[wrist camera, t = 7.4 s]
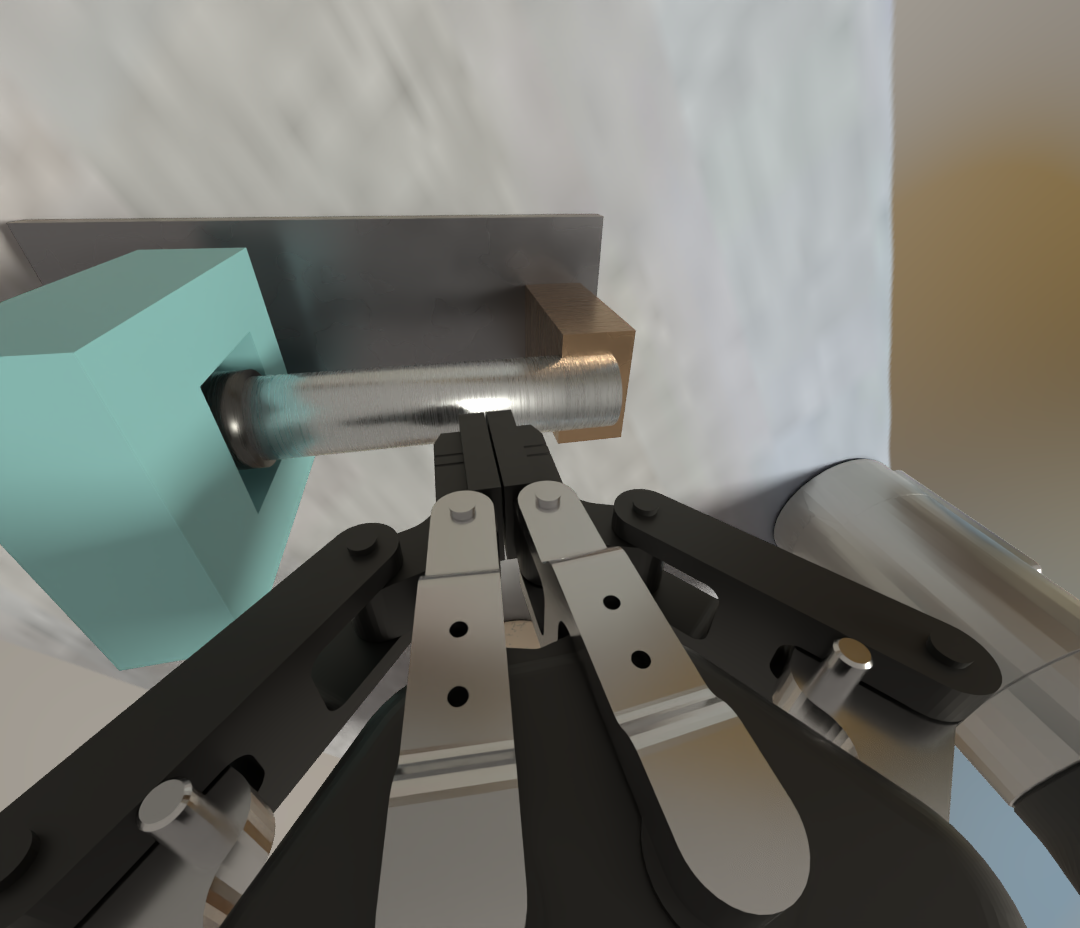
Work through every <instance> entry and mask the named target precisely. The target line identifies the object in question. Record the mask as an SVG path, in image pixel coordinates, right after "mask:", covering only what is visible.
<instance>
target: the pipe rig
mask: <svg viewBox="0 0 1080 928" xmlns="http://www.w3.org/2000/svg"><path fill="white" fill-rule="evenodd" d="M7 225H8V227H9V228H10V230H11V232H12V233H13V235H14V237H15V238H16V240H17V242H18V243H19V245H20V247H21V249H22V250H23V252H24V254H25V255H26V257H27V259H28V260H29V262H30V264H31V265H32V267H33V269H34V271H35V272H36V274H37V276H38V277H39V279H40V281H41V282H42V284H43V286H44V285H47V284H50V283H52V282H55V281H57V280H60V279H63V278H65V277H68V276H71V275H73V274H76V273H78V272H81V271H84V270H86V269H89V268H91V267H94V266H97V265H99V264H102V263H105V262H107V261H110V260H112V259H115V258H118V257H120V256H123V255H126V254H128V253H131V252H133V251H136V250H152V249H200V248H246V249H247V252H248V255H249V258H250V261H251V264H252V267H253V270H254V273H255V276H256V279H257V282H258V285H259V288H260V291H261V294H262V297H263V300H264V303H265V306H266V310H267V313H268V316H269V319H270V322H271V325H272V328H273V331H274V334H275V337H276V340H277V343H278V346H279V349H280V352H281V355H282V358H283V361H284V364H285V367H286V370H287V373H288V374H279V375H265V376H262V375H261V374H260V373H258V372H257V371H255V370H252V369H249V370H234V371H219V372H213V373H212V374H211V375H210V376H209V377H208V378H207V379H206V381H205V382H204V383H203V384H202V385H201V386H200V388H201V391H202V393H203V395H204V397H205V399H206V402H207V404H208V406H209V408H210V410H211V413H212V415H213V417H214V419H215V421H216V423H217V426H218V428H219V430H220V432H221V434H222V437H223V439H224V441H225V443H226V445H227V448H228V450H229V452H230V454H231V456H232V458H233V461H234V463H235V465H236V467H237V469H238V470H247V469H257V468H266V467H271V466H272V465H273V464H274V463H275V462H276V460H279V459H289V458H299V457H308V456H318V455H328V454H338V453H348V452H358V451H367V450H377V449H387V448H397V447H407V446H417V445H426V444H434V443H435V442H436V440H437V439H438V437H439V436H440V434H441V433H451V432H460V429H459V420H458V414H467V413H478V412H484V415H485V412H488V411H499V410H509V409H511V411H512V414H513V417H514V420H515V422H516V425H517V426H521V425H532V426H533V427H535V428H536V429H537V430H539V431H540V432H541V433H544V432H553V434H554V436H555V438H556V440H557V442H558V444H559V443H569V442H578V441H587V440H597V439H606V438H615V437H621V432H622V425H623V418H624V411H625V403H626V396H627V389H628V382H629V375H630V367H631V360H632V353H633V346H634V339H635V332H636V330H635V329H634V328H632V327H631V326H630V325H629V324H628V323H627V322H625V321H624V320H623V319H622V318H621V317H620V316H618V315H617V314H616V313H615V312H614V311H613V310H611V309H610V308H609V307H608V306H607V305H606V304H604V303H603V302H602V301H601V300H600V299H599V298H597V286H598V274H599V263H600V251H601V239H602V228H603V216H601V215H599V214H541V215H440V216H340V217H239V218H139V219H38V220H19V221H14V222H9V223H7Z"/></svg>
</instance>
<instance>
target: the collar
mask: <svg viewBox="0 0 1080 928" xmlns="http://www.w3.org/2000/svg"><path fill="white" fill-rule="evenodd" d="M249 369H252V370H255V371H257V372H258V373H260V374H261V375H262V376H265V375H279V374H288V373H287V370H286V367H285V364H284V361H283V358H282V355H281V352H280V349H279V346H278V343H277V340H276V337H275V334H274V331H273V328H272V325H271V322H270V319H269V316H268V313H267V310H266V306H265V303H264V300H263V297H262V294H261V291H260V288H259V285H258V282H257V279H256V276H255V273H254V270H253V267H252V264H251V261H250V258H249V255H248V252H247V249H246V248H200V249H152V250H136V251H133V252H131V253H128V254H126V255H123V256H120V257H118V258H115V259H112V260H110V261H107V262H105V263H102V264H99V265H97V266H94V267H91V268H89V269H86V270H84V271H81V272H78V273H76V274H73V275H71V276H68V277H65V278H63V279H60V280H57V281H55V282H52V283H50V284H47V285H44V286H42V287H39V288H36V289H34V290H31V291H29V292H26V293H23V294H21V295H18V296H15V297H13V298H10V299H8V300H5V301H2V302H0V544H1V545H2V546H3V548H4V549H5V550H6V551H7V552H8V553H9V554H10V555H11V556H12V557H13V558H14V559H15V560H16V561H17V562H18V563H19V565H20V566H21V567H22V568H23V569H24V570H25V571H26V572H27V573H28V574H29V575H30V576H31V577H32V578H33V579H34V580H35V582H36V583H37V584H38V585H39V586H40V587H41V588H42V589H43V590H44V591H45V592H46V593H47V594H48V595H49V596H50V597H51V599H52V600H53V601H54V602H55V603H56V604H57V605H58V606H59V607H60V608H61V609H62V610H63V611H64V612H65V613H66V614H67V616H68V617H69V618H70V619H71V620H72V621H73V622H74V623H75V624H76V625H77V626H78V627H79V628H80V629H81V630H82V631H83V633H84V634H85V635H86V636H87V637H88V638H89V639H90V640H91V641H92V642H93V643H94V644H95V645H96V646H97V647H98V648H99V650H100V651H101V652H102V653H103V654H104V655H105V656H106V657H107V658H108V659H109V660H110V661H111V662H112V663H113V664H114V665H115V667H116V668H117V669H118V670H119V671H121V670H127V669H133V668H138V667H144V666H150V665H156V664H162V663H168V662H173V661H179V660H185V659H188V658H189V657H190V656H191V655H193V654H194V653H195V652H196V651H198V650H199V649H200V648H201V647H202V646H204V645H205V644H206V643H207V642H209V641H210V640H211V639H212V638H213V637H215V636H216V635H217V634H218V633H219V632H221V631H222V630H223V629H224V628H226V627H227V626H228V625H229V624H230V623H232V622H233V621H234V620H235V619H237V618H238V617H239V616H240V615H241V614H243V613H244V612H245V611H246V610H248V609H249V608H250V607H251V606H252V605H254V604H255V603H256V602H257V601H258V600H260V599H261V598H262V597H263V596H265V595H266V594H267V593H268V592H269V591H271V589H272V586H273V583H274V580H275V577H276V574H277V571H278V568H279V565H280V561H281V558H282V555H283V552H284V549H285V546H286V543H287V540H288V537H289V534H290V531H291V528H292V525H293V522H294V519H295V516H296V513H297V510H298V506H299V503H300V500H301V497H302V494H303V491H304V488H305V485H306V482H307V479H308V476H309V473H310V470H311V467H312V464H313V461H314V458H315V456H308V457H299V458H289V459H279V460H276V462H275V463H274V464H273V465H272V466H271V467H266V468H257V469H247V470H238V469H237V467H236V465H235V463H234V461H233V458H232V456H231V454H230V452H229V450H228V448H227V445H226V443H225V441H224V439H223V437H222V434H221V432H220V430H219V428H218V426H217V423H216V421H215V419H214V417H213V415H212V413H211V410H210V408H209V406H208V404H207V402H206V399H205V397H204V395H203V393H202V391H201V388H200V386H201V385H202V384H203V383H204V382H205V381H206V379H207V378H208V377H209V376H210V375H211V374H212V373H213V372H219V371H234V370H249Z"/></svg>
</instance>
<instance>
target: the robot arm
mask: <svg viewBox="0 0 1080 928" xmlns="http://www.w3.org/2000/svg"><path fill="white" fill-rule="evenodd" d="M458 420H459V429H460V432H451V433H441V434H440V436H439V437H438V439H437V440H436V442H435V443H434V464H435V488H436V503H435V504H434V506H433V508H432V510H431V515H430V517H428V518H427V519H426V520H425V521H424V522H422V523H421V524H419V525H417V526H415V527H413V528H411V529H408V530H405V531H403V532H400V533H396V531H395V530H394V529H393V528H391V527H389V526H387V525H384V524H380V523H365V524H360V525H357V526H354V527H351V528H349V529H347V530H345V531H343V532H342V533H340V534H339V535H338V536H336V537H335V538H334V539H333V540H332V541H330V542H329V543H328V544H327V545H326V546H324V547H323V548H322V549H321V550H319V551H318V552H317V553H316V554H315V555H313V556H312V557H311V558H310V559H308V560H307V561H306V562H305V563H304V564H302V565H301V566H300V567H299V568H297V569H296V570H295V571H294V572H293V573H291V574H290V575H289V576H288V577H287V578H285V579H284V580H283V581H282V582H280V583H279V584H278V585H277V586H276V587H274V588H273V589H272V590H271V591H269V592H268V593H267V594H266V595H265V596H263V597H262V598H261V599H260V600H258V601H257V602H256V603H255V604H254V605H252V606H251V607H250V608H249V609H248V610H246V611H245V612H244V613H243V614H241V615H240V616H239V617H238V618H237V619H235V620H234V621H233V622H232V623H230V624H229V625H228V626H227V627H226V628H224V629H223V630H222V631H221V632H219V633H218V634H217V635H216V636H215V637H213V638H212V639H211V640H210V641H209V642H207V643H206V644H205V645H204V646H202V647H201V648H200V649H199V650H198V651H196V652H195V653H194V654H193V655H191V656H190V657H189V658H188V659H187V660H185V661H184V662H183V663H182V664H181V665H179V666H178V667H177V668H176V669H174V670H173V671H172V672H171V673H170V674H168V675H167V676H166V677H165V678H163V679H162V680H161V681H160V682H159V683H157V684H156V685H155V686H154V687H152V688H151V689H150V690H149V691H148V692H146V693H145V694H144V695H143V696H142V697H140V698H139V699H138V700H137V701H136V702H135V703H133V704H132V705H131V706H129V707H128V708H127V709H126V710H125V711H123V712H122V713H121V714H120V715H118V716H117V717H116V718H115V719H114V720H112V721H111V722H110V723H109V724H107V725H106V726H105V727H104V728H103V729H101V730H100V731H99V732H98V733H97V734H95V735H94V736H93V737H92V738H90V739H89V740H88V741H87V742H85V743H84V744H83V745H82V746H81V747H79V748H78V749H77V750H76V751H75V752H74V753H72V754H71V755H70V756H68V757H67V758H66V759H65V760H64V761H62V762H61V763H60V764H59V765H57V766H56V767H55V768H54V769H53V770H51V771H50V772H49V773H48V774H46V775H45V776H44V777H43V778H42V779H40V780H39V781H38V782H37V783H36V784H34V785H33V786H32V787H31V788H29V789H28V790H27V791H26V792H25V793H23V794H22V795H21V796H20V797H18V798H17V799H16V800H15V801H14V802H12V803H11V804H10V805H9V806H8V807H6V808H5V809H4V810H3V811H1V812H0V928H1027V927H1026V925H1025V923H1024V921H1023V919H1022V917H1021V915H1020V913H1019V911H1018V910H1017V908H1016V906H1015V904H1014V902H1013V900H1012V899H1011V897H1010V896H1009V894H1008V893H1007V891H1006V890H1005V888H1004V886H1003V885H1002V883H1001V882H1000V880H999V879H998V878H997V876H996V875H995V873H994V872H993V871H992V870H991V868H990V867H989V865H988V864H987V863H986V861H985V860H984V859H983V858H982V857H981V856H980V854H979V853H978V852H977V851H976V850H975V849H974V848H973V846H972V845H971V844H970V843H969V842H968V841H967V840H966V839H965V838H964V837H963V836H962V835H961V834H960V833H959V832H958V831H957V830H956V829H955V828H954V827H953V826H952V825H951V824H949V814H950V801H951V800H950V799H951V786H952V772H953V759H954V746H956V747H957V748H958V749H959V750H960V751H961V752H962V753H963V755H964V756H965V757H966V758H967V759H968V760H969V761H970V762H971V764H972V765H973V766H974V767H975V768H976V769H977V770H978V771H979V773H980V774H981V775H982V776H983V777H984V778H985V779H986V780H987V781H988V783H989V784H990V785H991V786H992V787H993V788H994V789H995V790H996V791H997V793H998V794H999V795H1000V796H1001V797H1002V798H1003V799H1004V801H1005V802H1006V803H1007V804H1008V805H1009V806H1011V807H1013V808H1014V812H1015V813H1016V814H1017V815H1018V816H1019V817H1020V818H1021V819H1022V820H1023V822H1024V823H1025V824H1026V825H1027V826H1028V827H1029V828H1030V830H1031V831H1032V832H1033V833H1034V834H1035V835H1036V836H1037V837H1038V839H1039V840H1040V841H1041V842H1042V843H1043V845H1044V846H1045V847H1046V849H1047V850H1048V851H1049V853H1050V854H1051V855H1052V857H1053V858H1054V859H1055V861H1056V862H1057V864H1058V865H1059V867H1060V868H1061V869H1062V871H1063V872H1064V874H1065V875H1066V877H1067V878H1068V879H1069V881H1070V882H1071V884H1072V885H1073V886H1074V888H1075V889H1076V891H1077V892H1078V894H1079V895H1080V600H1079V599H1077V598H1076V597H1075V596H1073V595H1072V594H1070V593H1069V592H1067V591H1065V590H1064V589H1063V588H1062V587H1060V586H1059V585H1057V584H1056V583H1054V582H1053V581H1051V580H1050V579H1049V578H1047V577H1046V576H1044V575H1043V574H1042V568H1041V566H1040V565H1039V564H1038V563H1037V562H1036V561H1034V560H1033V559H1032V558H1030V557H1029V556H1027V555H1026V554H1024V553H1023V552H1021V551H1020V550H1018V549H1017V548H1015V547H1014V546H1012V545H1011V544H1009V543H1008V542H1006V541H1005V540H1004V539H1002V538H1000V537H999V536H998V535H996V534H995V533H993V532H992V531H990V530H989V529H987V528H986V527H984V526H983V525H981V524H980V523H978V522H977V521H975V520H974V519H972V518H970V517H969V516H968V515H967V514H965V513H963V512H962V511H961V510H959V509H958V508H956V507H955V506H953V505H952V504H950V503H949V502H947V501H945V500H944V499H943V498H941V497H940V496H938V495H937V494H935V493H934V492H933V491H931V490H930V489H928V488H927V487H925V486H924V485H922V484H921V483H919V482H918V481H916V480H915V479H913V478H912V477H910V476H909V475H907V474H906V473H904V472H903V471H901V470H896V471H893V470H891V469H890V468H888V467H887V466H886V465H884V464H883V463H880V462H878V461H876V460H870V459H859V460H852V461H848V462H845V463H842V464H839V465H836V466H834V467H832V468H830V469H828V470H826V471H824V472H822V473H821V474H819V475H817V476H816V477H814V478H813V479H811V480H810V481H809V482H807V483H806V484H805V485H804V486H802V487H801V488H800V489H799V490H798V491H797V492H796V493H795V494H794V495H793V496H792V497H791V498H790V500H789V501H788V502H787V503H786V505H785V506H784V507H783V509H782V511H781V513H780V514H779V516H778V518H777V521H776V524H775V527H774V539H775V542H776V544H777V546H778V547H777V546H775V545H773V544H770V543H768V542H766V541H764V540H761V539H759V538H757V537H755V536H753V535H750V534H748V533H746V532H744V531H742V530H739V529H737V528H735V527H733V526H730V525H728V524H726V523H724V522H722V521H719V520H717V519H715V518H713V517H711V516H708V515H706V514H704V513H702V512H699V511H697V510H695V509H693V508H691V507H688V506H686V505H684V504H682V503H680V502H677V501H675V500H673V499H671V498H668V497H666V496H664V495H662V494H660V493H657V492H654V491H651V490H645V489H634V490H629V491H625V492H623V493H621V494H620V495H619V496H618V497H617V498H616V500H615V502H614V505H605V504H595V503H589V502H585V501H582V500H580V499H579V498H578V496H577V494H576V493H575V491H574V490H573V489H572V488H570V487H569V486H567V485H565V484H563V483H562V480H561V478H560V475H559V473H558V471H557V468H556V466H555V463H554V461H553V459H552V456H551V454H550V451H549V449H548V447H547V446H546V442H545V440H544V437H543V435H542V433H541V432H540V431H539V430H537V429H536V428H535V427H533V426H532V425H521V426H517V425H516V422H515V420H514V417H513V414H512V411H511V409H509V410H499V411H488V412H485V415H484V412H478V413H467V414H458ZM504 545H505V550H506V555H507V559H514V558H517V559H518V563H519V570H520V585H521V588H522V592H523V595H524V598H525V601H526V604H527V607H528V610H529V613H530V616H531V619H532V622H533V625H534V628H535V632H536V635H537V638H538V641H539V644H540V648H538V649H525V648H506V640H505V628H504V616H503V604H502V592H501V580H500V579H501V567H500V561H502V560H505V554H504ZM665 563H667V564H669V565H671V566H673V567H675V568H676V569H678V570H680V571H682V572H684V573H686V574H688V575H689V576H691V577H693V578H695V579H697V580H699V581H701V582H703V583H704V584H706V585H708V586H709V587H710V588H712V589H713V590H714V592H715V593H716V594H717V596H718V599H716V598H714V597H712V596H710V595H708V594H707V593H705V592H703V591H701V590H699V589H697V588H696V587H694V586H692V585H690V584H688V583H686V582H685V581H683V580H681V579H679V578H677V577H675V576H674V575H672V574H670V573H668V572H666V571H664V570H663V569H664V565H665ZM411 642H412V643H411ZM410 643H411V653H410V662H409V672H408V681H407V685H406V686H405V687H404V688H402V689H401V690H399V691H398V692H397V693H395V694H394V695H393V696H392V697H391V698H390V699H389V700H388V701H386V702H385V703H384V704H383V705H382V706H381V707H380V708H379V709H378V711H377V712H376V713H375V714H374V715H373V716H372V717H371V718H370V720H369V721H368V722H367V724H366V725H365V726H364V728H363V729H362V730H361V732H360V733H359V735H358V736H357V737H356V739H355V740H354V741H353V743H352V744H351V746H350V747H349V748H348V750H347V751H346V753H345V754H344V755H343V757H342V758H341V759H340V761H339V762H338V764H337V765H336V766H335V768H334V769H333V771H332V772H331V773H330V775H329V776H328V777H327V779H326V780H325V782H324V783H323V784H322V786H321V787H320V789H319V790H318V791H317V793H316V794H315V795H314V797H313V798H312V800H311V801H310V802H309V804H308V805H307V806H306V808H305V809H304V811H303V812H302V814H301V815H300V816H299V818H298V819H297V820H296V822H295V823H294V824H293V826H292V827H291V829H290V830H289V832H288V833H287V834H286V836H285V837H284V838H283V840H282V841H281V842H280V844H279V845H278V846H277V848H276V849H275V851H274V852H273V853H272V855H271V856H270V858H269V859H268V860H267V858H268V856H269V853H270V850H271V848H272V845H273V841H274V835H275V818H274V814H273V813H274V812H275V811H276V809H277V808H278V807H279V806H280V804H281V803H282V802H283V801H284V799H285V798H286V797H287V796H288V794H289V793H290V792H291V791H292V789H293V788H294V787H295V786H296V784H297V783H298V782H299V781H300V779H301V778H302V777H303V776H304V775H305V773H306V772H307V771H308V769H309V768H310V767H311V766H312V765H313V763H314V762H315V761H316V759H317V758H318V757H319V756H320V755H321V753H322V752H323V751H324V750H325V748H326V747H327V746H328V745H329V743H330V742H331V741H332V740H333V739H334V737H335V736H336V735H337V734H338V732H339V731H340V730H341V729H342V727H343V726H344V725H345V724H346V722H347V721H348V720H349V719H350V717H351V716H352V715H353V714H354V712H355V711H356V710H357V709H358V707H359V706H360V705H361V704H362V703H363V701H364V700H365V699H366V698H367V696H368V695H369V694H370V693H371V691H372V690H373V689H374V688H375V686H376V685H377V684H378V683H379V681H380V680H381V679H382V678H383V676H384V675H385V674H386V673H387V671H388V670H389V669H390V668H391V667H392V665H393V664H394V663H395V662H396V660H397V659H398V658H399V657H400V655H401V654H402V653H403V652H404V650H405V649H406V648H407V647H408V645H409V644H410ZM266 860H267V862H266ZM265 862H266V863H265Z"/></svg>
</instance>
